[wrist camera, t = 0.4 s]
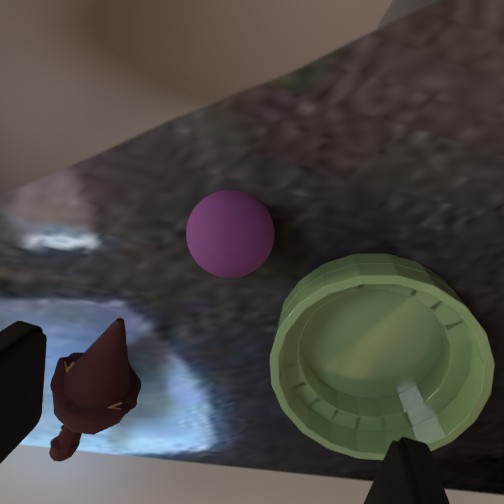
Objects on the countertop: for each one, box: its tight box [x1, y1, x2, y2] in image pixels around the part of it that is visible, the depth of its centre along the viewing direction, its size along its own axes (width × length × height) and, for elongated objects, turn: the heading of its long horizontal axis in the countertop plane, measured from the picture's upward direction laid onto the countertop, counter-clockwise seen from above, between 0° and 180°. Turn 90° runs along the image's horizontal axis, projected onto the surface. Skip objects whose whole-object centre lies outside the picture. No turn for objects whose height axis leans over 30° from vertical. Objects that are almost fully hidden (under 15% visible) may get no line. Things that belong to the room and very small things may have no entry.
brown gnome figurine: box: [49, 318, 141, 461], centre depth 32 cm, size 7×7×15 cm
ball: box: [186, 190, 275, 278], centre depth 27 cm, size 6×6×6 cm
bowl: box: [270, 253, 495, 460], centre depth 28 cm, size 14×14×5 cm
